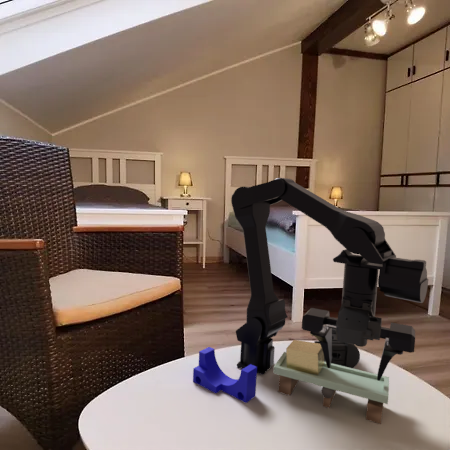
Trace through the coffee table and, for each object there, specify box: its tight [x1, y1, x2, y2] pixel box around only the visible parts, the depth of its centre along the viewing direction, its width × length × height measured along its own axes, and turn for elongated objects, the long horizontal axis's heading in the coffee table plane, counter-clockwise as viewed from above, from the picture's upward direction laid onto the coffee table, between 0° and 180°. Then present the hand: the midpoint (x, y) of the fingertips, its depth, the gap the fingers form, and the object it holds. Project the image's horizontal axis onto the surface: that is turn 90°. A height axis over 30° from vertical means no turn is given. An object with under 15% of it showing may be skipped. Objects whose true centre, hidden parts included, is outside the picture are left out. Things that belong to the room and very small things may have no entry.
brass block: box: [285, 339, 324, 375], centre depth 71 cm, size 6×5×4 cm
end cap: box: [313, 328, 361, 369], centre depth 84 cm, size 10×7×7 cm
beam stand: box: [277, 375, 384, 425], centre depth 69 cm, size 18×7×4 cm, turn 63°
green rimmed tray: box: [273, 351, 390, 405], centre depth 69 cm, size 20×7×2 cm, turn 65°
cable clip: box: [192, 346, 258, 404], centre depth 71 cm, size 12×4×6 cm, turn 51°
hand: (353, 373), depth 67 cm, fingers open, 8 cm apart
